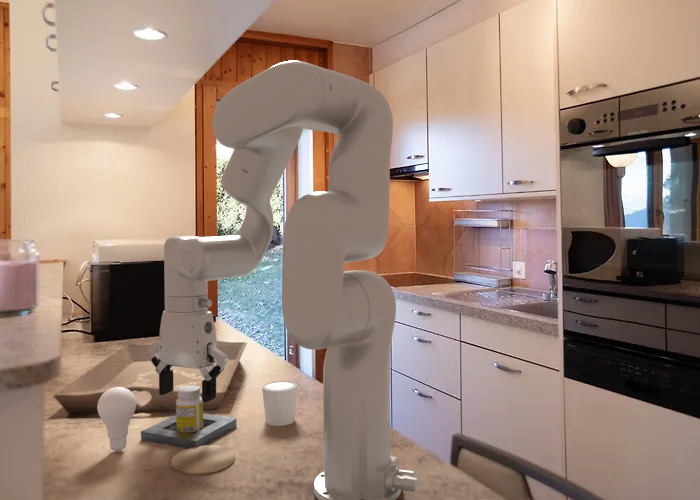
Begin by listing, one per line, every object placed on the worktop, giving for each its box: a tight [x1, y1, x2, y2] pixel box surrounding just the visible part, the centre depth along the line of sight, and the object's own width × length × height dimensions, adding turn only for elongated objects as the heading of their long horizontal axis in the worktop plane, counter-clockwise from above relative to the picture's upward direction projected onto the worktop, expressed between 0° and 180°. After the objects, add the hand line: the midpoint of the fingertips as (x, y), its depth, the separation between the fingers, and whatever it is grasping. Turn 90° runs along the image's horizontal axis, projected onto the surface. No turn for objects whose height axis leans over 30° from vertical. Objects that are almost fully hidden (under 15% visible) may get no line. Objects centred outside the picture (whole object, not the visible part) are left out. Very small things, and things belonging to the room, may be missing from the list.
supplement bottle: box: [175, 385, 205, 434], centre depth 105 cm, size 5×5×8 cm
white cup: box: [261, 380, 298, 427], centre depth 112 cm, size 7×7×7 cm
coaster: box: [171, 444, 236, 475], centre depth 93 cm, size 10×10×1 cm
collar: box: [140, 412, 238, 450], centre depth 105 cm, size 12×12×2 cm
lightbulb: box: [96, 386, 137, 453], centre depth 97 cm, size 6×6×11 cm
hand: (187, 396), depth 105 cm, fingers open, 9 cm apart
